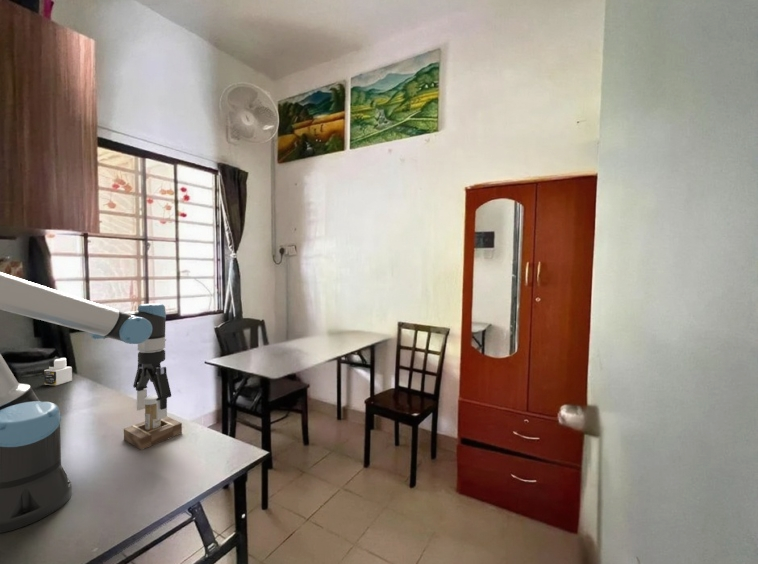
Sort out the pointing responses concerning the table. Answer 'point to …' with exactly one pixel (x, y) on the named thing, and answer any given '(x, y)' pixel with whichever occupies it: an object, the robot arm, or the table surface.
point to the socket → (152, 433)
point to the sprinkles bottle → (151, 413)
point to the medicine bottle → (57, 372)
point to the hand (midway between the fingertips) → (151, 413)
